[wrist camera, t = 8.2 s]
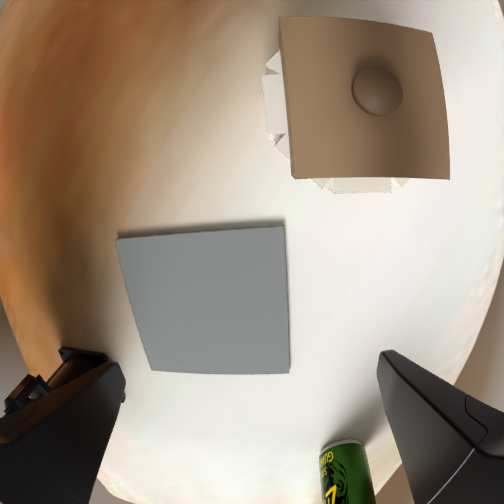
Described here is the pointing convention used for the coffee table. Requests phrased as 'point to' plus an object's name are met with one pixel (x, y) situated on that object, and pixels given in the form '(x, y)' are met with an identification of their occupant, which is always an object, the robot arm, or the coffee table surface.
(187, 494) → the coffee table surface
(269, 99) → the bowl
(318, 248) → the coffee table surface
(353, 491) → the beer can
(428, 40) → the lid
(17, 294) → the coffee table surface
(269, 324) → the mat
